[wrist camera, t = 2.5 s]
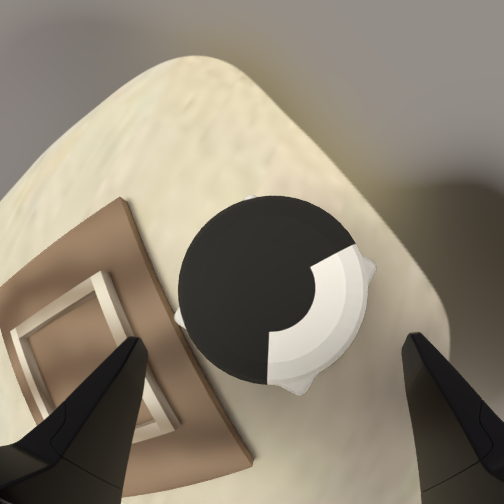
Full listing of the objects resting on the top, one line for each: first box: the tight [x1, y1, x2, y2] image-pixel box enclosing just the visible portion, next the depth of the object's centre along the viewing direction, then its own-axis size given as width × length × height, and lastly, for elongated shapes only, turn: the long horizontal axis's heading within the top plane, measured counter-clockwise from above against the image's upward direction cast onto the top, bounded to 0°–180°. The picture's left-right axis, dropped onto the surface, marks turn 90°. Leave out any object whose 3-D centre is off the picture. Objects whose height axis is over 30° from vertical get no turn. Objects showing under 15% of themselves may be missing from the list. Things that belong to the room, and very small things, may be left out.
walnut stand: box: [0, 197, 254, 497], centre depth 19 cm, size 22×18×2 cm
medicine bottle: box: [174, 195, 376, 396], centre depth 14 cm, size 7×7×12 cm
